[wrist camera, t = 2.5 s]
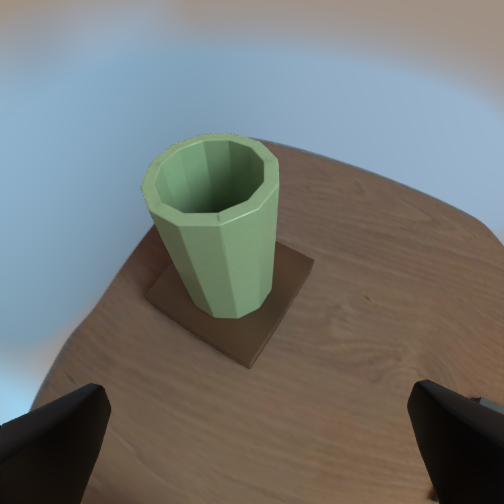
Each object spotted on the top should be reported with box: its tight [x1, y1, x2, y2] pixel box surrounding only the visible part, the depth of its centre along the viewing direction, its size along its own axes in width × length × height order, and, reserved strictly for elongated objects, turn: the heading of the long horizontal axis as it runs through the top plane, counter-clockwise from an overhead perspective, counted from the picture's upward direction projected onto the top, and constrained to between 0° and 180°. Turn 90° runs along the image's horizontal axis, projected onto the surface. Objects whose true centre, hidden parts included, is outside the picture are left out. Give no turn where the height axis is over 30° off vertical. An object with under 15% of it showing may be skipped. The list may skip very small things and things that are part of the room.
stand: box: [145, 241, 314, 369], centre depth 21 cm, size 10×10×6 cm
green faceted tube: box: [141, 133, 279, 319], centre depth 18 cm, size 7×7×11 cm
